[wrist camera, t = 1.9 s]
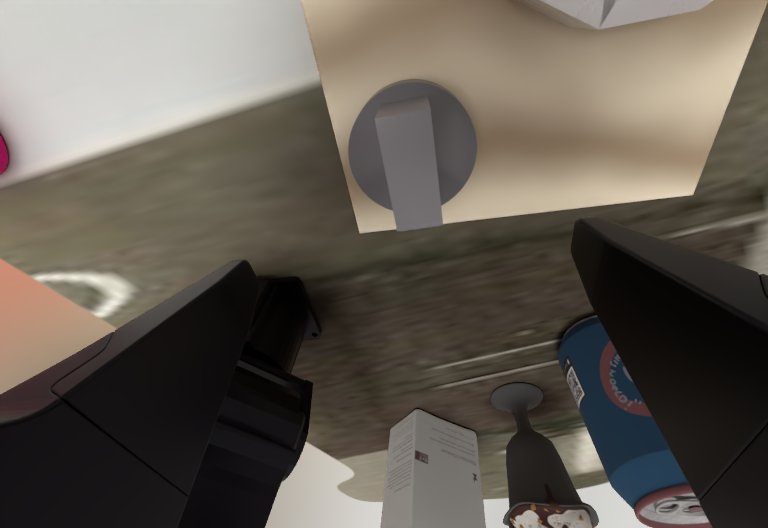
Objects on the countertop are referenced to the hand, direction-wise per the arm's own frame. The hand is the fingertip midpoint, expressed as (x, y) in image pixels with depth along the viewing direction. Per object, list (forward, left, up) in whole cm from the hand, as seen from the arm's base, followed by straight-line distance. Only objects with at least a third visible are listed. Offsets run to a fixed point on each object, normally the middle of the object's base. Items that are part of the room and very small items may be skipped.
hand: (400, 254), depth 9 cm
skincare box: (-32, +2, -12) cm, 35 cm away
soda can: (-18, -13, -12) cm, 26 cm away
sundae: (-26, -7, -12) cm, 30 cm away
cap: (0, 0, -11) cm, 11 cm away
